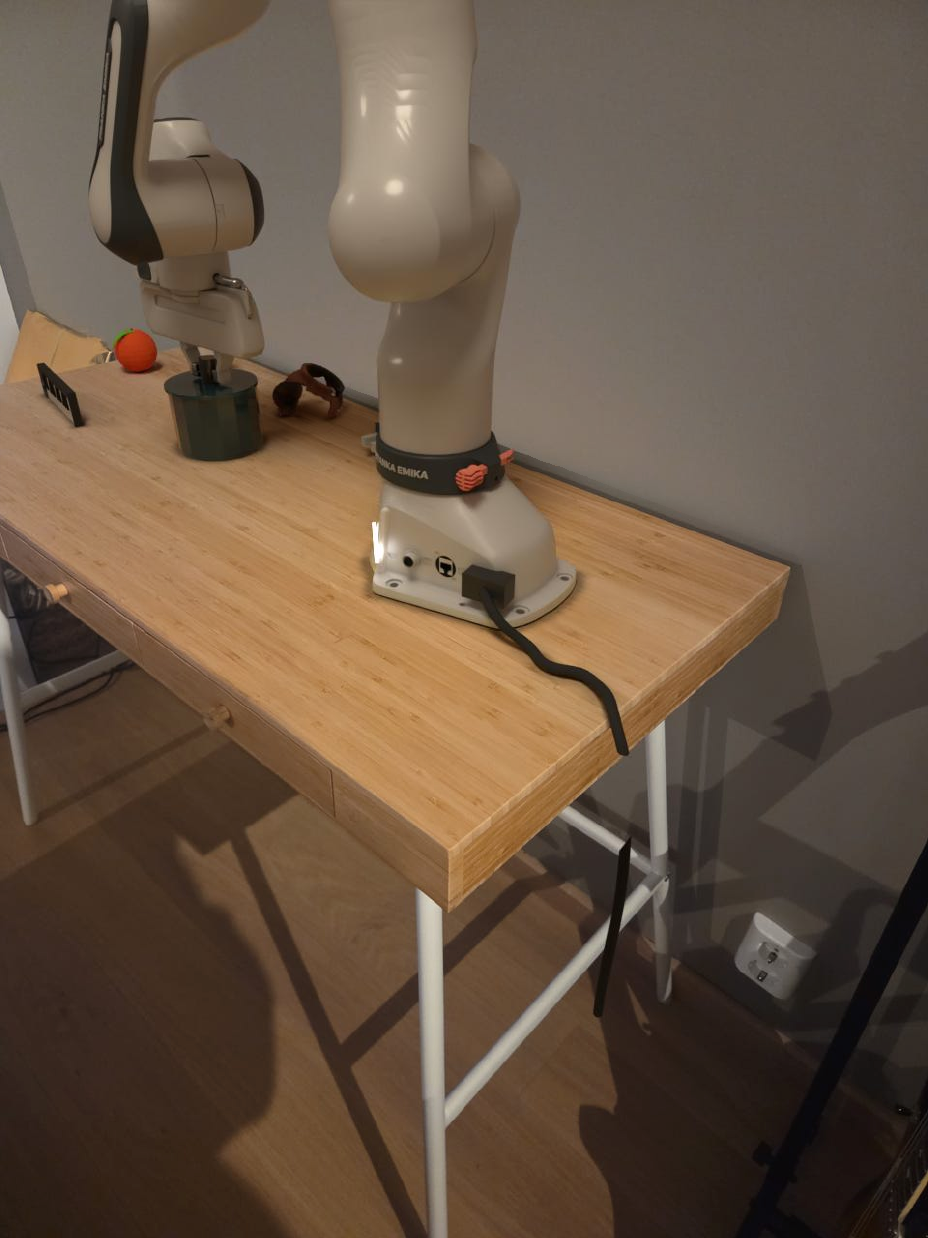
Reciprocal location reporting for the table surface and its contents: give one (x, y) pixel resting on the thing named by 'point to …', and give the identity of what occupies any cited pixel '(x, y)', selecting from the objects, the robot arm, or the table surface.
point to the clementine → (135, 350)
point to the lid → (209, 383)
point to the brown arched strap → (308, 389)
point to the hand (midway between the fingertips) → (211, 379)
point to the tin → (218, 426)
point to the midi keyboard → (60, 394)
